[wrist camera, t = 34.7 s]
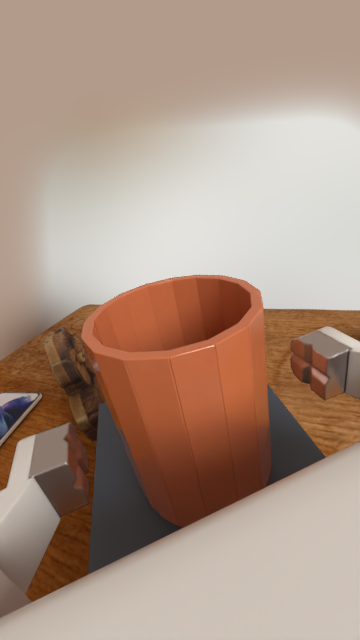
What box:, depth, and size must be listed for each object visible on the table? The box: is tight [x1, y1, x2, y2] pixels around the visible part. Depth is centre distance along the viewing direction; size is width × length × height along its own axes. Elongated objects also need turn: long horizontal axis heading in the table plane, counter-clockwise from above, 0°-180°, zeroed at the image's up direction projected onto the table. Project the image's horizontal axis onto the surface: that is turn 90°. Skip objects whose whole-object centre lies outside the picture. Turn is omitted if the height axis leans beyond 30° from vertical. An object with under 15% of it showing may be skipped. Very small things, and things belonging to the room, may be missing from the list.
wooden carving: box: [44, 327, 106, 441], centre depth 33 cm, size 16×5×10 cm, turn 31°
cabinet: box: [88, 384, 326, 574], centre depth 17 cm, size 14×12×10 cm
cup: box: [81, 275, 271, 528], centre depth 13 cm, size 7×7×9 cm
